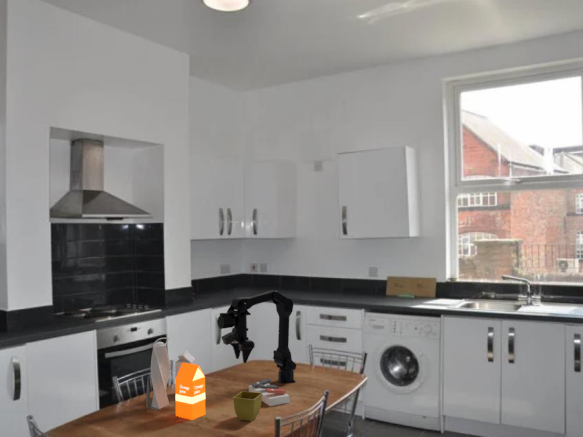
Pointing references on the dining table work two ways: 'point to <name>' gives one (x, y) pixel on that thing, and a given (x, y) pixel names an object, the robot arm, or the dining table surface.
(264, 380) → the rocker near
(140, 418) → the dining table surface
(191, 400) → the orange juice
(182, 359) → the milk carton
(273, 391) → the rocker red
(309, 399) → the dining table surface
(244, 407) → the flower pot
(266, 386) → the rocker middle
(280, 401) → the power strip
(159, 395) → the skyscraper
